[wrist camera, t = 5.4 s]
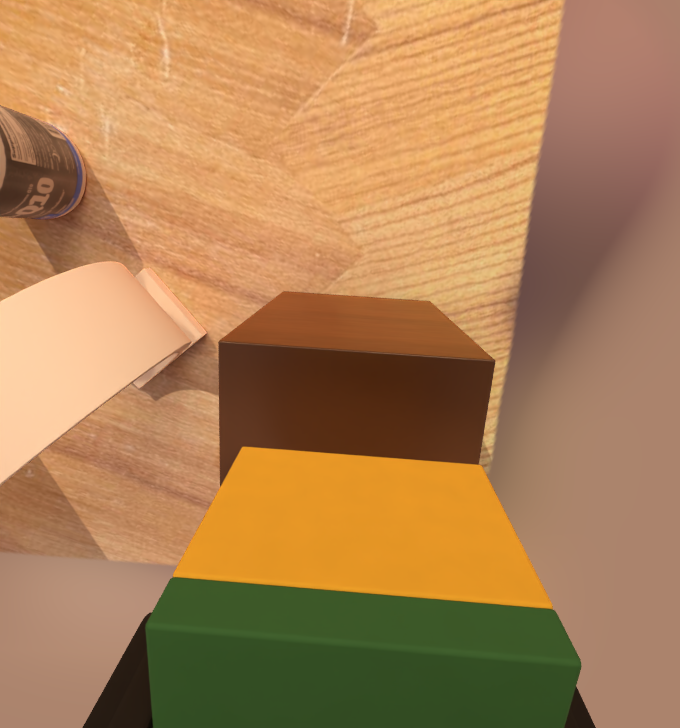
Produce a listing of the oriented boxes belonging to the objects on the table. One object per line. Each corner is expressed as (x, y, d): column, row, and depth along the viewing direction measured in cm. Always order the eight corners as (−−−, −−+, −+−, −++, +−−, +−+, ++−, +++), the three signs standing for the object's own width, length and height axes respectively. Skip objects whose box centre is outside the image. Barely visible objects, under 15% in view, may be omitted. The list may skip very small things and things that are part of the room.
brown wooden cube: (283, 291, 25) (217, 340, 13) (430, 301, 24) (496, 360, 13) (278, 457, 27) (221, 619, 16) (410, 467, 27) (450, 638, 16)
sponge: (241, 444, 9) (141, 625, 5) (482, 463, 9) (585, 664, 5) (241, 694, 12) (170, 973, 7) (439, 712, 11) (487, 1007, 7)
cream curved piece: (87, 323, 26) (-135, 394, 14) (164, 255, 24) (-11, 272, 13) (145, 384, 26) (-20, 500, 15) (221, 322, 25) (107, 394, 14)
